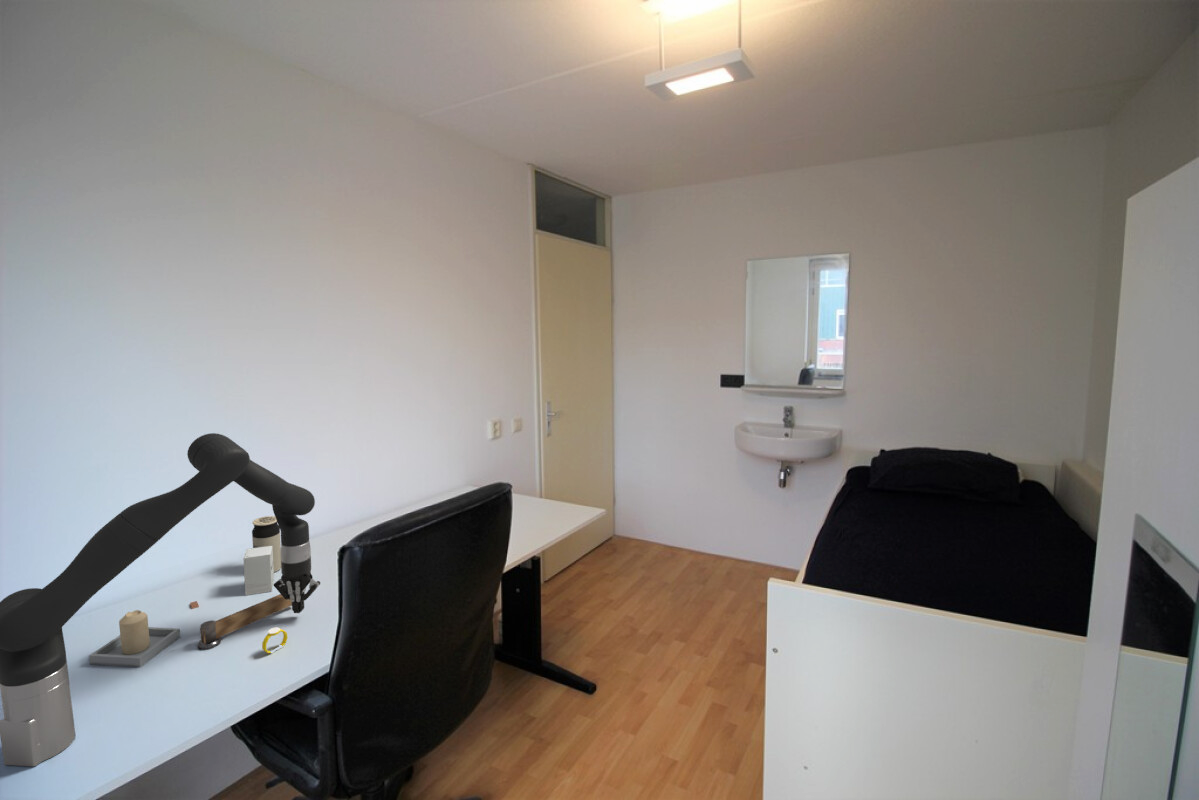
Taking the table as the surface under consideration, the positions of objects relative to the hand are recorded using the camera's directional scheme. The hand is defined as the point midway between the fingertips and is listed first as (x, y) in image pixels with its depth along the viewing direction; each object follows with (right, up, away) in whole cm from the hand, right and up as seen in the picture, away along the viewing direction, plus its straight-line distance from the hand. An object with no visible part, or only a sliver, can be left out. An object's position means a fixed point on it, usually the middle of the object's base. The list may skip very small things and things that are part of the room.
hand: (298, 611), depth 156 cm
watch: (+2, -5, -14) cm, 15 cm away
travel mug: (-26, +3, +27) cm, 38 cm away
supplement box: (-21, +1, +15) cm, 26 cm away
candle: (-32, -3, -18) cm, 37 cm away
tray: (-32, -3, -17) cm, 37 cm away
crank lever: (-11, -1, -5) cm, 12 cm away
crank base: (-24, -2, -5) cm, 25 cm away
